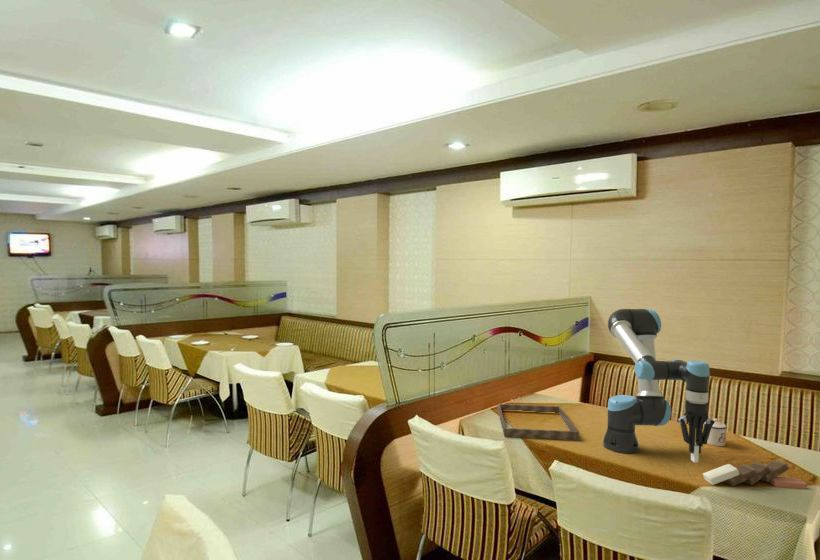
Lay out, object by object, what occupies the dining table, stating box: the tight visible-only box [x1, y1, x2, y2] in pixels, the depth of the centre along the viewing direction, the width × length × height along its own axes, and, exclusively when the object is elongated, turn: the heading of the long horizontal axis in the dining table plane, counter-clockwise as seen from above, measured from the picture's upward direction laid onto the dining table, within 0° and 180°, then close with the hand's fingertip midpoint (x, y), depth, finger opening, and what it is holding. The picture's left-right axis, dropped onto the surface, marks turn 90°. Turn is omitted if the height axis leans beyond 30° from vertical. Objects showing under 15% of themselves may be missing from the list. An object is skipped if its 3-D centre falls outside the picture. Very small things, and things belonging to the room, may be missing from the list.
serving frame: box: [497, 403, 579, 441], centre depth 249 cm, size 35×42×4 cm
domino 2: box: [723, 463, 757, 487], centre depth 182 cm, size 2×5×11 cm
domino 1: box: [702, 463, 740, 486], centre depth 183 cm, size 2×5×11 cm
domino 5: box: [768, 476, 808, 489], centre depth 182 cm, size 2×5×11 cm
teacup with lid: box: [703, 418, 727, 447], centre depth 226 cm, size 12×9×12 cm
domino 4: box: [760, 460, 790, 483], centre depth 185 cm, size 2×5×11 cm
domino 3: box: [742, 461, 770, 486], centre depth 184 cm, size 2×5×11 cm
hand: (694, 461), depth 184 cm, fingers closed
